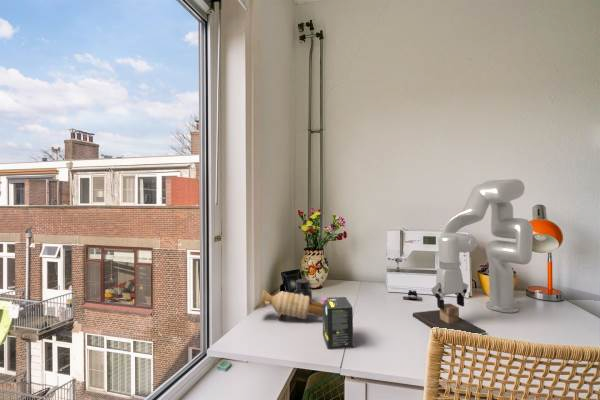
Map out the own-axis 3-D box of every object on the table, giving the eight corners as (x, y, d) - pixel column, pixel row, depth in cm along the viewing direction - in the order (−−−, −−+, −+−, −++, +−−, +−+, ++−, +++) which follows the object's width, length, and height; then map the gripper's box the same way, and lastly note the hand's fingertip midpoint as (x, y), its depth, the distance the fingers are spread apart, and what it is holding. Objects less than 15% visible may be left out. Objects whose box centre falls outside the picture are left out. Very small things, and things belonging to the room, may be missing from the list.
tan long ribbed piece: (326, 324, 132) (260, 310, 133) (330, 297, 132) (265, 284, 133) (327, 334, 122) (256, 319, 123) (332, 305, 122) (261, 291, 123)
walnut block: (450, 317, 124) (449, 303, 124) (459, 322, 120) (458, 307, 120) (439, 318, 123) (439, 304, 123) (448, 323, 118) (448, 308, 118)
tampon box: (322, 335, 113) (321, 297, 113) (346, 334, 114) (345, 296, 114) (327, 349, 102) (326, 307, 102) (353, 348, 103) (353, 306, 103)
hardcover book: (444, 314, 134) (443, 309, 134) (486, 337, 111) (485, 331, 111) (412, 317, 130) (412, 312, 130) (449, 342, 108) (449, 335, 108)
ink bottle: (316, 304, 147) (315, 280, 147) (306, 309, 140) (306, 284, 140) (299, 300, 152) (299, 277, 152) (289, 306, 145) (289, 281, 145)
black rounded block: (425, 299, 154) (425, 290, 154) (426, 303, 147) (425, 294, 147) (400, 296, 158) (400, 288, 158) (399, 301, 152) (399, 292, 152)
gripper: (459, 261, 127) (461, 301, 128) (425, 265, 123) (426, 306, 123) (473, 265, 120) (475, 307, 120) (438, 269, 116) (439, 313, 116)
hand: (450, 306), depth 122 cm, fingers open, 9 cm apart
